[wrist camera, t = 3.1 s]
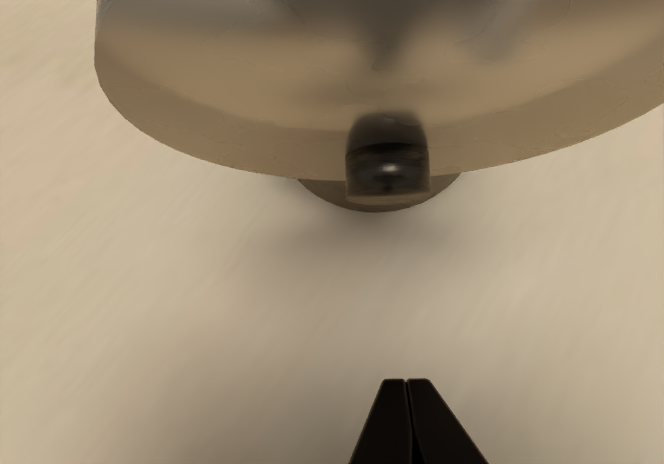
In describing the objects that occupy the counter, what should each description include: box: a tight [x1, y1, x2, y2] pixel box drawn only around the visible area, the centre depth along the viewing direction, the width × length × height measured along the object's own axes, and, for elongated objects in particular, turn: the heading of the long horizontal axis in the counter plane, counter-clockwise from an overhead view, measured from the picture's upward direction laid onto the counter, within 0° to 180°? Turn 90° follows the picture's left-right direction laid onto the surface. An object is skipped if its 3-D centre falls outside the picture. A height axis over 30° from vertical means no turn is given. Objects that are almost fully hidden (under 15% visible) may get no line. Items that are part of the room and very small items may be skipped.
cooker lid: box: [94, 0, 664, 205], centre depth 8 cm, size 14×12×2 cm
